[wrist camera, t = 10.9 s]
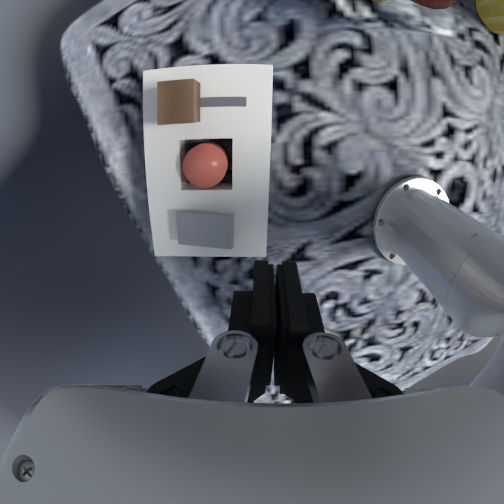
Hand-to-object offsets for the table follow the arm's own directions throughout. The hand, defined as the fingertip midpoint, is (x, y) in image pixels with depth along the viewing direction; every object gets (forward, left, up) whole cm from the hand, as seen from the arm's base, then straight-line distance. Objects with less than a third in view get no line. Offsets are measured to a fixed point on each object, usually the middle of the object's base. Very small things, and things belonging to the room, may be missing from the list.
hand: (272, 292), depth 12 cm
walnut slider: (+7, -8, -20) cm, 22 cm away
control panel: (+5, -2, -23) cm, 23 cm away
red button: (+5, -2, -21) cm, 21 cm away
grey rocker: (+5, +5, -19) cm, 20 cm away
